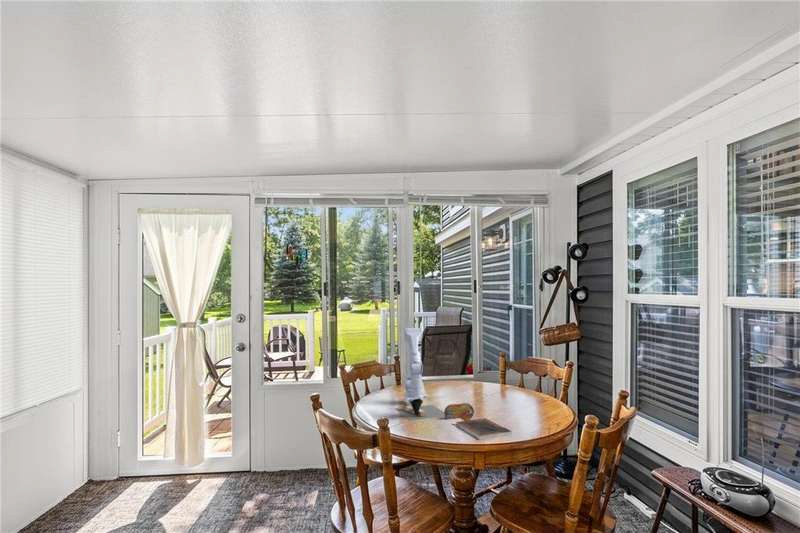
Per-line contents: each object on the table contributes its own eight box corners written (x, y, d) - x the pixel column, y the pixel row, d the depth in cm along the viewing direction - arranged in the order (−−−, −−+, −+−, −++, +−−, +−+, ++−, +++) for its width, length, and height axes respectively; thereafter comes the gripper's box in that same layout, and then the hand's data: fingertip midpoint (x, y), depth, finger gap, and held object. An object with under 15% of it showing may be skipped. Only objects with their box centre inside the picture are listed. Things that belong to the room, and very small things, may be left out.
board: (394, 411, 237) (394, 408, 237) (432, 407, 244) (432, 404, 244) (409, 423, 216) (409, 420, 216) (449, 418, 223) (449, 415, 223)
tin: (445, 422, 217) (445, 405, 217) (443, 421, 220) (443, 403, 220) (474, 420, 221) (474, 403, 221) (471, 418, 224) (471, 401, 224)
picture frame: (511, 436, 199) (485, 422, 219) (511, 430, 199) (485, 417, 219) (479, 441, 193) (456, 426, 213) (479, 435, 193) (455, 421, 213)
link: (400, 408, 235) (400, 402, 235) (406, 407, 237) (406, 401, 238) (420, 416, 221) (420, 410, 221) (426, 415, 224) (426, 408, 224)
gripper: (411, 390, 216) (411, 419, 215) (431, 386, 226) (432, 413, 225) (401, 388, 221) (401, 415, 221) (422, 384, 231) (422, 410, 230)
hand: (416, 414), depth 223 cm, fingers closed
